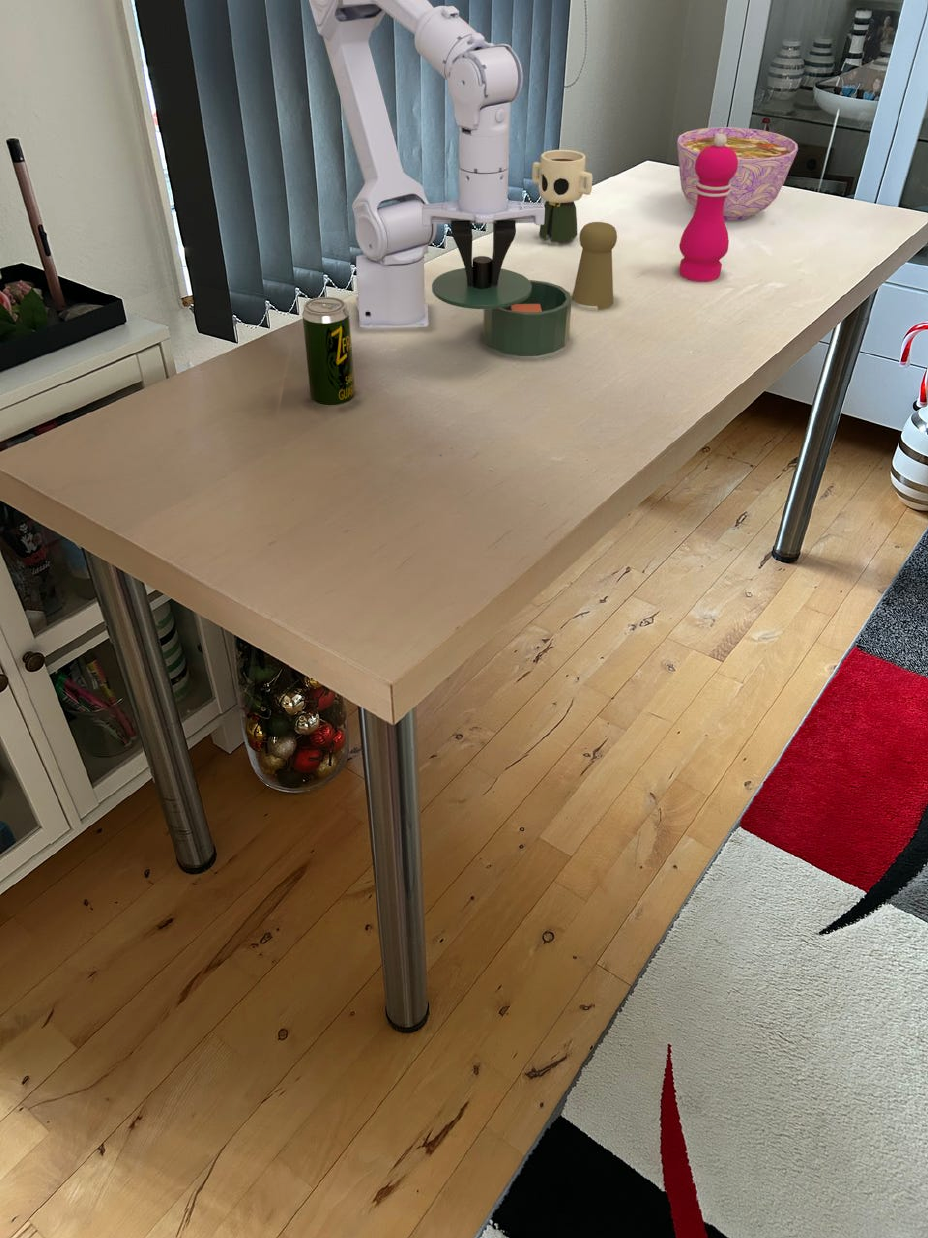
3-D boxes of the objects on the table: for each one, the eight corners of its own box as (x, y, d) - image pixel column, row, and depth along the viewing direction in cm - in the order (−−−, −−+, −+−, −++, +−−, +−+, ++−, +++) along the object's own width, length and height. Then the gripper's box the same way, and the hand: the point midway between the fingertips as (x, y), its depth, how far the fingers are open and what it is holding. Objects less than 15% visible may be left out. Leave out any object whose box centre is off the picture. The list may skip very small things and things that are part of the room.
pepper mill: (670, 278, 153) (690, 137, 140) (681, 262, 158) (701, 124, 145) (718, 285, 151) (742, 143, 138) (727, 269, 156) (751, 130, 143)
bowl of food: (650, 199, 182) (658, 130, 175) (752, 191, 186) (764, 123, 178) (696, 236, 167) (707, 163, 160) (805, 227, 171) (821, 154, 163)
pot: (485, 360, 131) (486, 314, 127) (480, 324, 140) (481, 280, 136) (572, 358, 132) (576, 313, 128) (562, 322, 140) (565, 279, 136)
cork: (611, 311, 143) (619, 233, 136) (569, 307, 144) (575, 230, 137) (615, 295, 148) (622, 218, 141) (574, 291, 149) (580, 215, 142)
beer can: (303, 407, 121) (293, 311, 113) (321, 387, 125) (313, 293, 117) (345, 413, 120) (337, 317, 112) (362, 393, 124) (355, 299, 116)
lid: (432, 314, 120) (432, 279, 118) (431, 275, 130) (430, 241, 127) (535, 313, 121) (537, 278, 118) (527, 274, 130) (528, 241, 127)
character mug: (518, 238, 166) (521, 154, 158) (541, 226, 171) (545, 144, 162) (575, 252, 161) (582, 166, 153) (597, 239, 166) (604, 155, 157)
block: (511, 344, 134) (512, 316, 131) (509, 332, 137) (510, 303, 134) (541, 344, 134) (543, 315, 131) (538, 331, 137) (540, 303, 135)
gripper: (420, 177, 112) (423, 295, 121) (550, 176, 113) (543, 294, 122) (420, 159, 118) (423, 273, 127) (543, 158, 118) (537, 272, 127)
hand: (481, 282), depth 124 cm, fingers closed on lid, 2 cm apart
